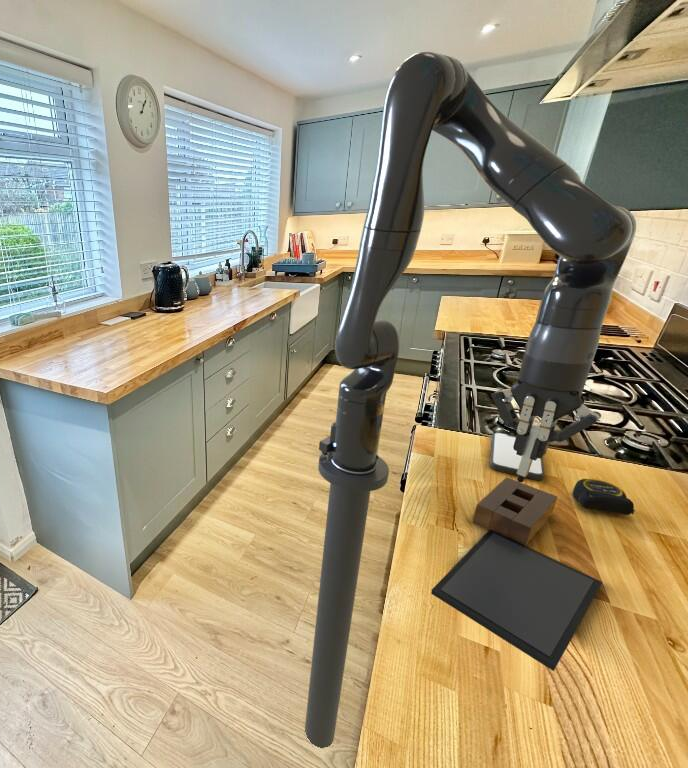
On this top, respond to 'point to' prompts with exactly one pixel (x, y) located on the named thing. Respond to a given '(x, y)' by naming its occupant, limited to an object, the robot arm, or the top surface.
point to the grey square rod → (527, 454)
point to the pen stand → (514, 510)
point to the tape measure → (602, 497)
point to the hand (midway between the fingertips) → (527, 455)
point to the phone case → (511, 457)
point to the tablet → (519, 595)
